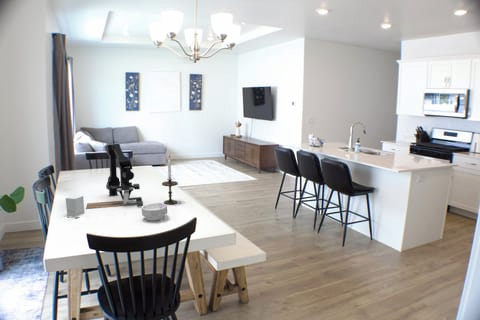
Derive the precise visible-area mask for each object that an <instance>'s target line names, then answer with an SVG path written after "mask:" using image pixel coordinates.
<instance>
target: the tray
mask: <svg viewBox="0 0 480 320" xmlns="http://www.w3.org/2000/svg"><path fill="white" fill-rule="evenodd" d="M128 200H134V201H135V202H134V203H127V205H126V207H128V206H137V207H136V208H140V207H141V208H142V206H144V201H143V198H142V196H139V197H138V196H136V197H129V199H128Z"/></svg>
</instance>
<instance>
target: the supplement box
mask: <svg viewBox="0 0 480 320" xmlns="http://www.w3.org/2000/svg"><path fill="white" fill-rule="evenodd" d="M65 208H66V215H67V218H68V219H69V218H70V219H71V217H73V219H75V220H76V219H80V218H81V215H84V214H85V213H86V212H85V200H84V195H76V194H73V195H70V196H67V197H65Z"/></svg>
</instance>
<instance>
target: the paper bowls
mask: <svg viewBox="0 0 480 320" xmlns="http://www.w3.org/2000/svg"><path fill="white" fill-rule="evenodd" d="M167 214H168V205H166V204H164V202H153V203H147V204H143V207H141V215H142V216H143V217H144V218H145V220H147V221H152V222H157V221H160V220H162V219H164V217H165V216H166V215H167Z"/></svg>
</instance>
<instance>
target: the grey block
mask: <svg viewBox="0 0 480 320" xmlns="http://www.w3.org/2000/svg"><path fill="white" fill-rule="evenodd" d="M128 197H129V190H123V199H122V201H123V204H124V205H126V206H127V203H128ZM129 198H130V197H129Z"/></svg>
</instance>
